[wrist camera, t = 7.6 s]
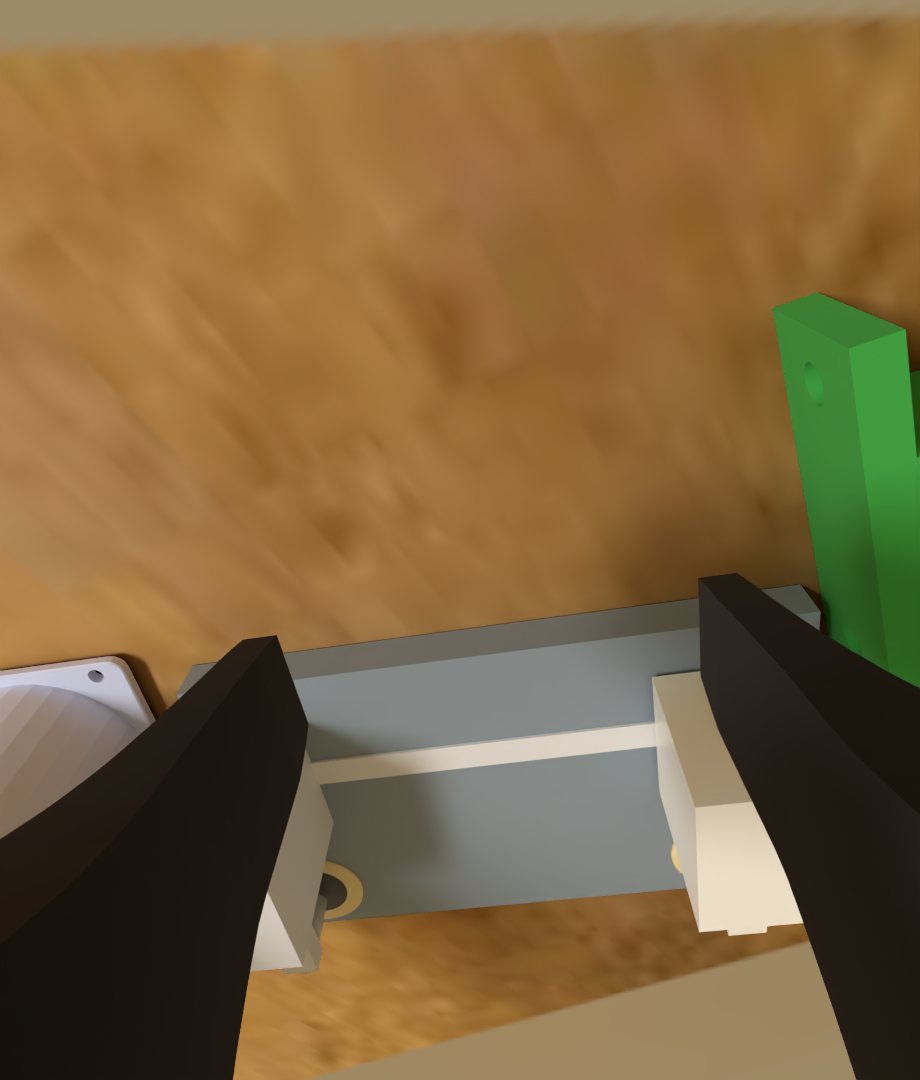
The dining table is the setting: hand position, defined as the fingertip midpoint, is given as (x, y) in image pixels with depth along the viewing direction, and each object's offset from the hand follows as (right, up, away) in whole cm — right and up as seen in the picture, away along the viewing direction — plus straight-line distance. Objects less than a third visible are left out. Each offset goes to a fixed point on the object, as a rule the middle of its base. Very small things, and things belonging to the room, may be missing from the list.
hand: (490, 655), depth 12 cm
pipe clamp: (+11, +4, +9) cm, 15 cm away
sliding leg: (+8, -6, +12) cm, 15 cm away
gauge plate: (+1, -6, +14) cm, 15 cm away
